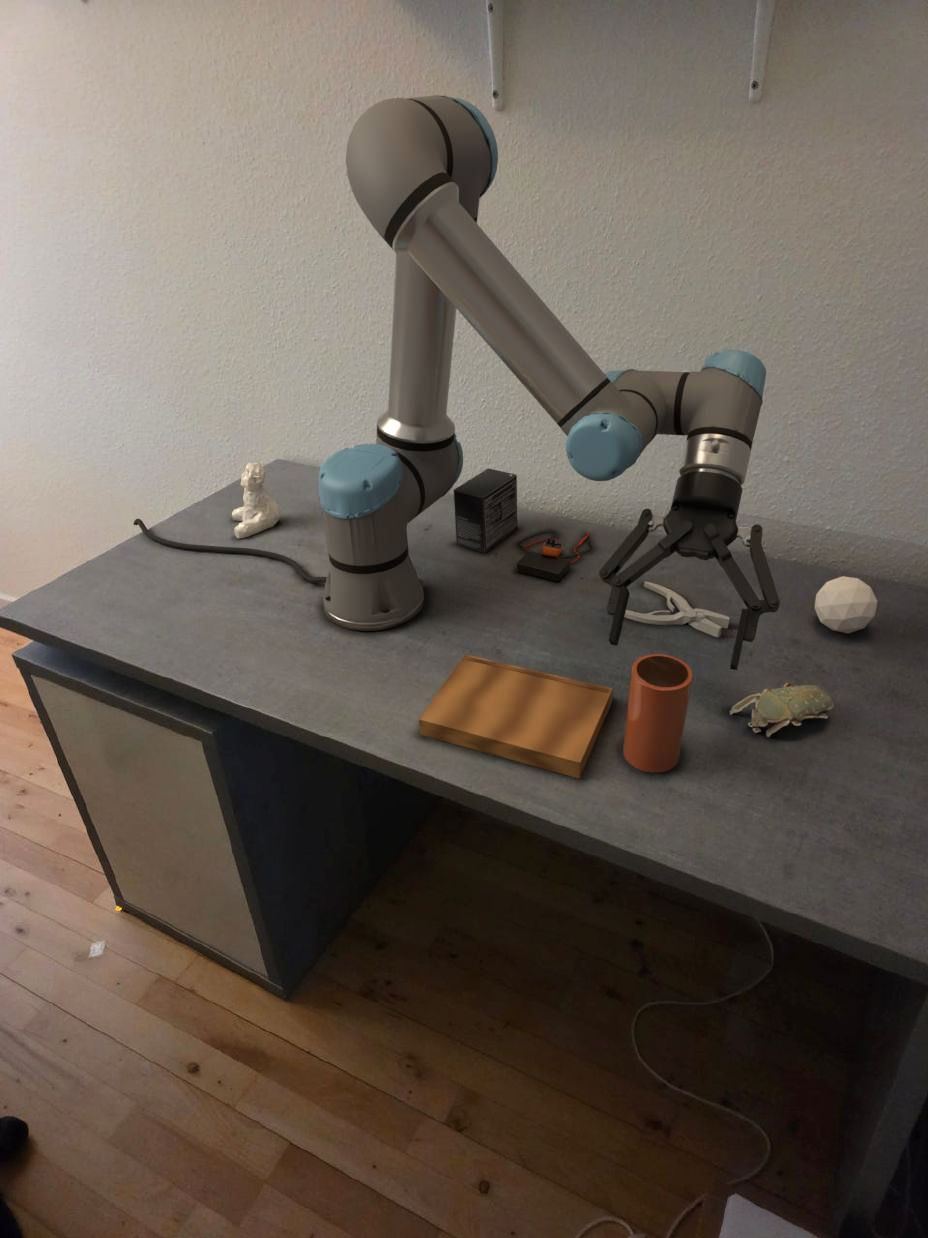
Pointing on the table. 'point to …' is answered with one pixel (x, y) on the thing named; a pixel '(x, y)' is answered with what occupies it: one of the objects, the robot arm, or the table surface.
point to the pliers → (681, 614)
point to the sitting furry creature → (255, 504)
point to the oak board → (518, 714)
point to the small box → (486, 510)
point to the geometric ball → (845, 604)
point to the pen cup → (656, 712)
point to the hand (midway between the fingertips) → (671, 655)
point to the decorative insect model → (785, 706)
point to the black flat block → (547, 560)
